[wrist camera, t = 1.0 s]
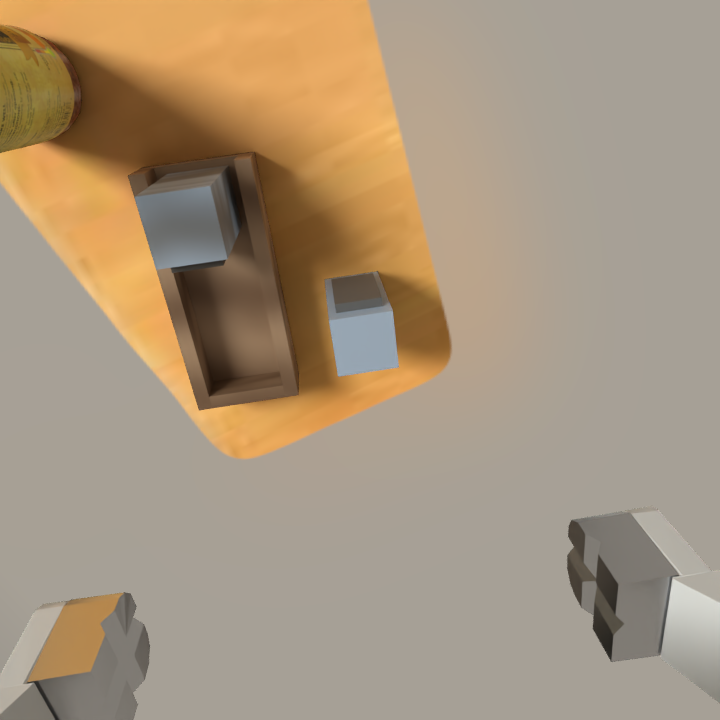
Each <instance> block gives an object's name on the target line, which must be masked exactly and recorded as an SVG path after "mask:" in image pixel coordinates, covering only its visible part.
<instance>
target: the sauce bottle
mask: <svg viewBox="0 0 720 720" xmlns="http://www.w3.org/2000/svg"><path fill="white" fill-rule="evenodd" d="M81 101H82V99H81V86H80V84H79V80H78V76H77V74H76V71H75V69H74V67H73V66H72V64H71V63H70V62H69V60H68V58H67V57H66V56H65V55H64V54H63V53H62V52H61V51H60V50H59V49H58V48H57V47H56V46H55V45H54V44H53V43H52V42H50V41H48V40H46V39H44V38H42V37H39V36H38V35H36V34H33V33H31V32H30V31H27V30H25V29H22V28H19V27H14V26H8V25H1V24H0V153H2V152H6V151H10V150H14V149H19V148H23V147H27V146H31V145H35V144H38V143H42V142H46V141H49V140H51V139H53V138H55V137H57V136H59V135H60V134H62V133H64V132H65V131H66V130H68V129H69V127H70V126H71V125H72V124H73V122H74V121H75V120H76V118H77V117H78V115H79V112H80V110H81Z"/></svg>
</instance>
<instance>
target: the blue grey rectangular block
mask: <svg viewBox="0 0 720 720" xmlns="http://www.w3.org/2000/svg"><path fill="white" fill-rule="evenodd" d="M325 288H326V298H327V307H328V316H329V324H330V330H331V336H332V342H333V348H334V354H335V360H336V366H337V373H338V377H339V376H346V375H352V374H359V373H365V372H372V371H378V370H385V369H391V368H398V367H399V365H398V355H397V346H396V336H395V327H394V317H393V310H392V307H391V305H390V302H389V300H388V297H387V295H386V292H385V289H384V287H383V284H382V282H381V279H380V277H379V274H378V271H377V272H370V273H363V274H357V275H350V276H343V277H337V278H330V279H325Z"/></svg>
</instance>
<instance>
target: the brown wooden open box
mask: <svg viewBox="0 0 720 720" xmlns="http://www.w3.org/2000/svg"><path fill="white" fill-rule="evenodd" d="M128 178H129V181H130V184H131V188H132V191H133V194H134V198H135V201H136V204H137V208H138V211H139V214H140V218H141V221H142V224H143V227H144V231H145V234H146V237H147V241H148V244H149V247H150V251H151V254H152V257H153V260H154V264H155V267H156V270H157V273H158V277H159V280H160V283H161V287H162V290H163V293H164V296H165V300H166V303H167V306H168V310H169V313H170V316H171V320H172V323H173V326H174V329H175V333H176V336H177V339H178V343H179V346H180V349H181V353H182V356H183V359H184V362H185V366H186V369H187V372H188V376H189V379H190V382H191V385H192V389H193V392H194V395H195V399H196V402H197V405H198V409H199V410H204V409H211V408H217V407H224V406H230V405H237V404H243V403H250V402H256V401H263V400H269V399H276V398H282V397H288V396H295V395H298V392H299V372H298V367H297V362H296V357H295V352H294V347H293V342H292V337H291V332H290V327H289V322H288V317H287V312H286V307H285V302H284V297H283V292H282V287H281V282H280V277H279V272H278V267H277V262H276V257H275V252H274V247H273V242H272V237H271V232H270V227H269V222H268V217H267V212H266V207H265V202H264V197H263V192H262V187H261V182H260V177H259V172H258V167H257V162H256V157H255V152H248V153H241V154H234V155H227V156H220V157H213V158H207V159H200V160H193V161H186V162H179V163H172V164H165V165H158V166H151V167H144V168H141V169H139V170H137V171H135V172H133V173H132V174H130V175H128Z"/></svg>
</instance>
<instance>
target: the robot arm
mask: <svg viewBox="0 0 720 720" xmlns="http://www.w3.org/2000/svg"><path fill="white" fill-rule="evenodd" d="M568 537H569V539H570V541H571V542H572V544H573V546H574V547H573V549H572V550H571V551H570V552H569V554H568V555H567V569H568V574H569V579H570V584H571V587H572V589H573V592H574V594H575V597H576V598H577V600H578V602H579V604H580V606H581V608H583V609H584V610H586V611H587V612H589V613H591V614H592V615H594V616H593V630H594V632H595V633H596V635H597V637H598V639H599V641H600V643H601V644H602V646H603V648H604V650H605V651H606V653H607V655H608V657H609V659H610V661H611V662H615V661H622V660H630V659H637V658H644V657H651V656H658V655H661V659H662V660H664V661H665V662H666V663H668V664H669V665H670V666H672V667H673V668H674V669H676V670H677V671H678V672H680V673H681V674H682V675H683V676H685V677H686V678H687V679H689V680H690V681H691V682H693V683H694V684H695V685H697V686H698V687H699V688H701V689H702V690H703V691H704V692H706V693H707V694H708V695H710V696H711V697H712V698H714V699H715V700H716V701H718V702H719V703H720V570H715V571H712V570H711V569H710V568H709V567H708V566H707V565H706V564H705V562H704V561H703V560H702V559H701V558H700V557H699V556H698V554H697V553H696V552H695V551H694V550H693V549H692V548H691V546H689V544H688V543H687V542H686V541H685V540H684V539H683V537H682V536H681V535H680V534H679V533H678V532H677V531H676V530H675V529H674V527H673V526H672V525H671V524H670V523H669V522H668V521H667V519H666V518H665V517H664V516H663V515H662V514H661V513H660V512H659V511H658V509H656V508H654V507H652V506H649V507H643V508H637V509H632V510H626V511H624V512H622V511H621V512H616V513H610V514H604V515H598V516H592V517H587V518H581V519H574V520H571V522H570V525H569V530H568ZM135 610H136V604H135V602H134V600H133V598H132V596H131V594H130V593H125V592H124V593H117V594H109V595H102V596H94V597H87V598H80V599H73V600H70V601H62V602H55V603H47V604H43V605H41V606H40V607H39V608H38V609H36V611H35V612H34V614H33V615H32V617H31V619H30V621H29V622H28V624H27V626H26V628H25V630H24V632H23V634H22V636H21V638H20V639H19V641H18V643H17V645H16V647H15V648H14V650H13V652H12V654H11V656H10V658H9V659H8V661H7V663H6V665H5V667H4V669H3V670H2V672H1V674H0V720H133V719H134V716H135V712H136V709H137V705H138V704H137V702H136V699H135V697H134V695H133V692H134V691H135V690H136V689H137V688H138V687H139V685H140V684H141V683H142V682H143V681H144V680H145V677H146V673H147V669H148V665H149V652H150V644H149V638H148V633H147V631H146V628H145V626H144V624H143V623H141V622H139V621H138V620H136V619H135V618H133V616H134V613H135Z"/></svg>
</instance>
